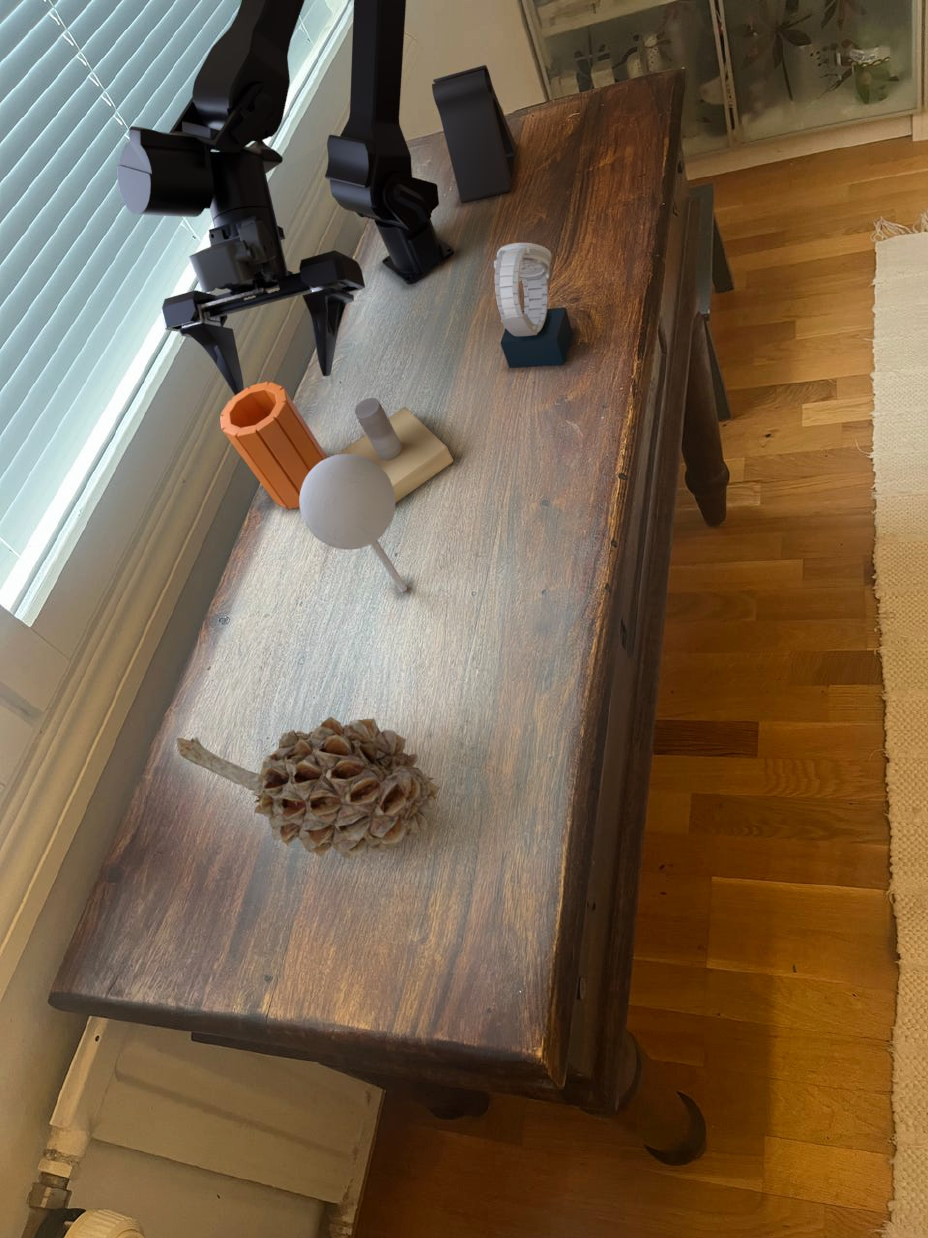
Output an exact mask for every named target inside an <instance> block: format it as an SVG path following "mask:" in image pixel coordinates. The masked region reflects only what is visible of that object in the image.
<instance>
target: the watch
mask: <svg viewBox="0 0 928 1238" xmlns="http://www.w3.org/2000/svg"><path fill="white" fill-rule="evenodd" d="M551 260H552V252H551V251H550V249H548V248H546V247H545V246H543V245H540V244H536V243H530V242H514V243H508V244H506V245H503V246H502V247H500V248H499V249H498V251H497V252H496V259H495V260H493V268H494V290H495V298H496V299H495V300H496V304H497V309H498V312H499V315H500V317H501V318H500V321H501V323H502V325H503V326H504V331H503V333H502V337H501V340H500V343H499V344H500V346H501V349H502V352H503V354H504V358H505V360H506V363H507V366H508V368H509V369H517V368H533V367H534V368H535V367H551V366H564V365H565V363H566V360H567V356H568V352H569V349H570V345H571V343H572V338H573V335H574V331H573V329H572V328H573V327H572V324H571V320H570V317H569V313H568V310H567V307H566V306H564V307H551V308H548V305H549V295H548V293H549V286H548V285H549V284H548V279H550V271H551ZM520 282H522V286H523V288H522V289H523V296H524V299H523V300H524V302H523V303H524V307H523V310H522V305H521V299H520V284H519V283H520Z"/></svg>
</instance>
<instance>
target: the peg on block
mask: <svg viewBox="0 0 928 1238" xmlns="http://www.w3.org/2000/svg"><path fill="white" fill-rule="evenodd" d="M354 415H355V417H356V419H357V420H358V422H359V424H360V426H361V427H362V430H363V431H364V433H365V434H364V435H362V436H361V437H360V438H358V439H356V441H354V442H352V443H351V444H350V445H348V446H347V447H345V448H344V449H342V451H339V452H338V453H337V454H336V455H339V454H354V455H359V456H362V457H365V458H367V459H369V460H371V461H373V462H374V463H376V464H377V465H378V466H379V467H381V468H382V469H383V470H384V471H385V473H386V474H387V475H388V477H389V479H390V481H391V483H392V486H393V489H394V493H395V504H397V503H398V502H399V501H401V500H402V499H404V498H405V497H406V496H408V495H409V494H411V493H412V492H413V491H415V490H416V489H417V488H419V487H420V486H422V485H423V484H424V483H426V482H427V481H428V480H430V479H432V478H433V477H434V476H436V475H437V474H439V473H440V472H441V471H443V470H444V469H446V468H447V467H448V466H449V465H451V464H453V462H454V459H453V457H452V455H451V453H450V450H449V448H448V446H446V444H444V442H443V441H441V439H440V438H438V436H436V435H435V434H434V433H433V432H432V431H431V430H430V429H429V428H428V427H427V426H426V425H424V423H423V422H422V421H421V420H420V419H419V418H418V417H416V415H415V414H413V413H412V412H411V411H410V410H409V409H408V408H407V407H406V406H403V407H402V408H401V409H400V410H398V411H396V412H395V413H394V414H393V415H391V416H389V417H388V415H387V413H386V411H385V409H384V407H383V406H382V404H381V402H380V400H379V399H377V398H375V397H368V398H366V399H365V398H364V399H363V400H361V401H360V402H359V403H358V404H357V405H356V407H355V408H354Z"/></svg>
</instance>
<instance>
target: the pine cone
mask: <svg viewBox="0 0 928 1238" xmlns="http://www.w3.org/2000/svg"><path fill="white" fill-rule="evenodd" d="M175 736H176V746H177V748H176V750H177V751H178V755H180V756H181V757H182V758H184V759H185V760H187V761H189V762H190V763H193V764H194V765H196V766H199V767H202V768H203V769H206V770H208V771H210V772H212V773H214V774H216V775H218V776H220V777H221V778H224V779H226V780H229V781H230V782H232V783H233V784H235V785H240V786H243V787H244V788H245V789H247V790H248V791H252V796H253V797H256V798H258V799H256V800H254V803H258V805H257V806H255V808H254V813H255V814H260V815H263V816H264V817H265V818H267V819H268V820H267V822H268V824H269V827H270V828H271V836H272V839H273V841H278V840H282V843H284V844H285V845H286V846H289V845H291V843H293V842H294V841H295V840H296V839H297V838H298V840H299V841H301V845H302V846H303V848H304V849H305V850H306V851H307V852H308V853H314V854H315V855H317V856H318V857H320V858H322V857H324V855H325V854H326V853H327V852H328V851H329V849H330V848H331V847H332V848H333V849H336V850H337V851H338V852H339V854H341V856H342V857H343V858H344V859H345V860H347V859H350V858H352V857H358V858H359V857H360V856H363V854H364V852H365V850H366V848H367V846H368V847H370V848H371V849H372V850H374V851H375V852H377V853H382V854H383V853H387V852H388V850H393V849H397V848H399V845H400V844H399V843H400V842H402V841H403V838H405V839H413V840H414V839H415V840H417V839H419V837H420V832H421V833H422V832H424V831H426V830H427V828H428V826H429V825H428V820H427V818H426V817H425V815H424V814H427V812H428V811H431V810H436V809H437V808H436V807H437V801H436V800H437V798H438V797H437V795H438V793H439V790H440V789H441V787H440V786H438V785H437V784H435V783H433V782H432V780H434V777H432V776H428V775H427V774H426V773H424V772H423V770H421V768H419V767H415V766H414V765H415V764H416V763H417V762H418V761H419V760H418V759H419V755H418V754H417V753H412V754H407V753H405V752H404V750H405V748H406V741H407V739H406V738H404V737H402V736H400V735H399V734H397V733H396V731H395V730H392V729H384V730H382V731H381V730H380V728H379V726H378V724H377V722H376V719H375V718H363V719H353V720H351V721H350V722H349V723H348V724H344V725H343V726H342V724H341V722H340V721H339V720H337V719H335V718H334V717H332V716H329V717H328V718H327V719H325V720H324V721H323V722H321V724H320V725H319V726H317V727H315V728H314V729H313V731H309V732H308V733H306V732H305V733H304V732H303V731H302V730H297V731H295V730H294V729H292V730H290V731H288V732H284V733H282V734H281V736H280V738H279V739H278V747H277V749H276V750H274V751H273V753H272V754H269V755H268V756H266V758H265V759H264V760H263V761H262V766H261V769H260V771H259V773H257V772H254V771H250V770H248V769H246V768H244V767H241V766H240V765H238V764H235V763H233V762H232V761H229V760H227V759H224V758H222V757H220V756H218V755H216V754H215V753H213V752H211V751H210V750H208V749H207V748H205V747H204V746H203V745H202V742H201V741H200V738H199V737H197V736H195V737H192V738H191V739H187V738H184V737H180V736H179V735H178V734H177V733H175Z"/></svg>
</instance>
